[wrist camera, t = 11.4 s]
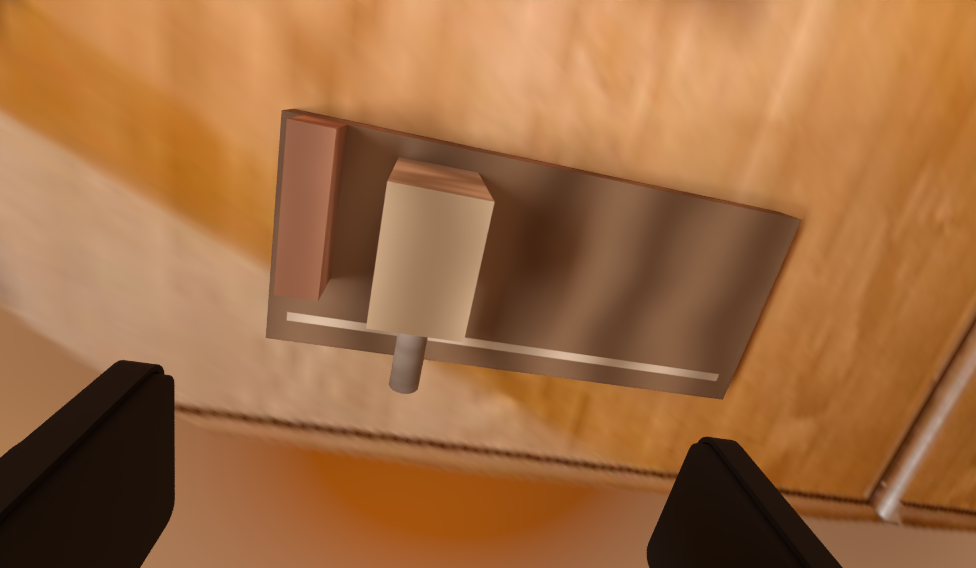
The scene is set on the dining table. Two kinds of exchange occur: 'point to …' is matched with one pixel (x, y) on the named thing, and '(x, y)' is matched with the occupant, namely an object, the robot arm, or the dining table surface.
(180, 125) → the dining table surface
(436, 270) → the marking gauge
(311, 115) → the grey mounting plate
